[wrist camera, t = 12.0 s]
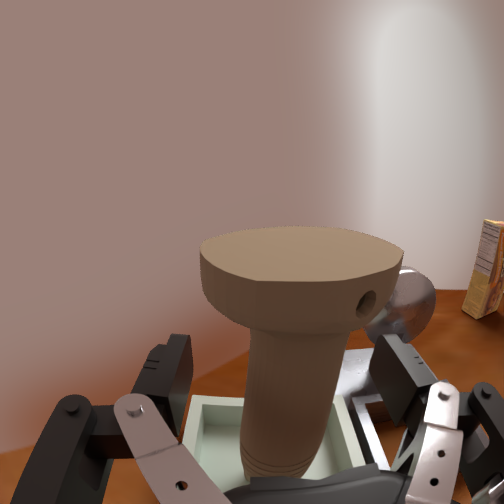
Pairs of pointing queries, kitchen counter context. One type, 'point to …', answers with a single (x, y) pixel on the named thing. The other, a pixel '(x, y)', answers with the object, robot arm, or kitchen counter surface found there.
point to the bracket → (357, 361)
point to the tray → (228, 441)
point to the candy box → (487, 272)
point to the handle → (295, 327)
